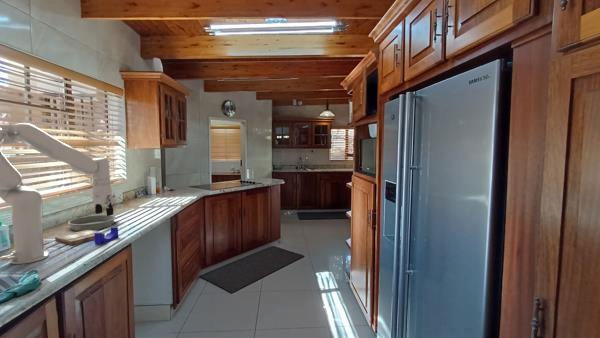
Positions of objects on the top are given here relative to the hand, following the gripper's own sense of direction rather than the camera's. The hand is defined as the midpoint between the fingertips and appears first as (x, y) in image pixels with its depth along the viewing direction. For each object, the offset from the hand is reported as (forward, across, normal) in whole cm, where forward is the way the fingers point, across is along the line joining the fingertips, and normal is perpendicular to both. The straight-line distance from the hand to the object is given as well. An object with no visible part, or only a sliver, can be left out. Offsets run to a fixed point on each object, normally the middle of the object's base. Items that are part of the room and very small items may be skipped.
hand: (104, 214), depth 157 cm
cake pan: (+15, -37, +13) cm, 42 cm away
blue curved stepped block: (+14, 0, -1) cm, 14 cm away
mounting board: (+14, -15, -5) cm, 21 cm away
